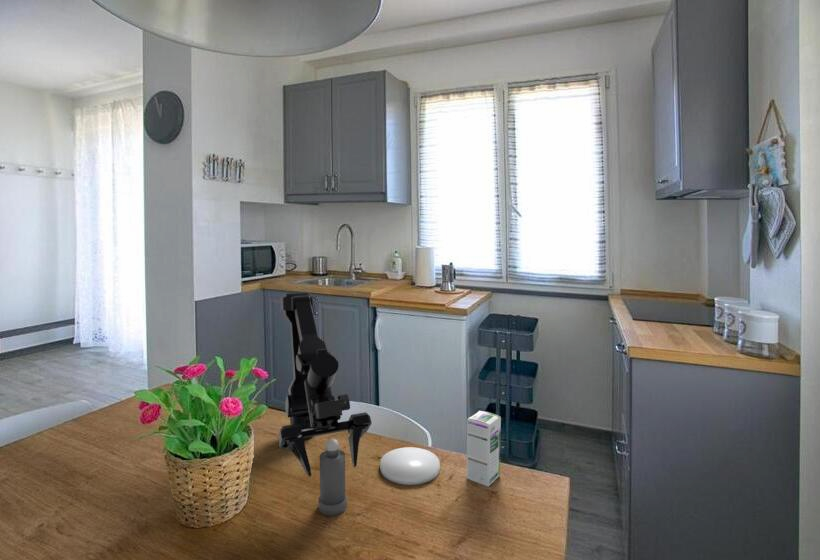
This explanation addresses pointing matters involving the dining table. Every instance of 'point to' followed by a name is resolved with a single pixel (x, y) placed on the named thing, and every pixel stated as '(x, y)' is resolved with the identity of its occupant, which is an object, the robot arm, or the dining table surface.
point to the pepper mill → (332, 480)
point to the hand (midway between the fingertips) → (333, 471)
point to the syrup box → (483, 447)
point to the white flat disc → (410, 466)
